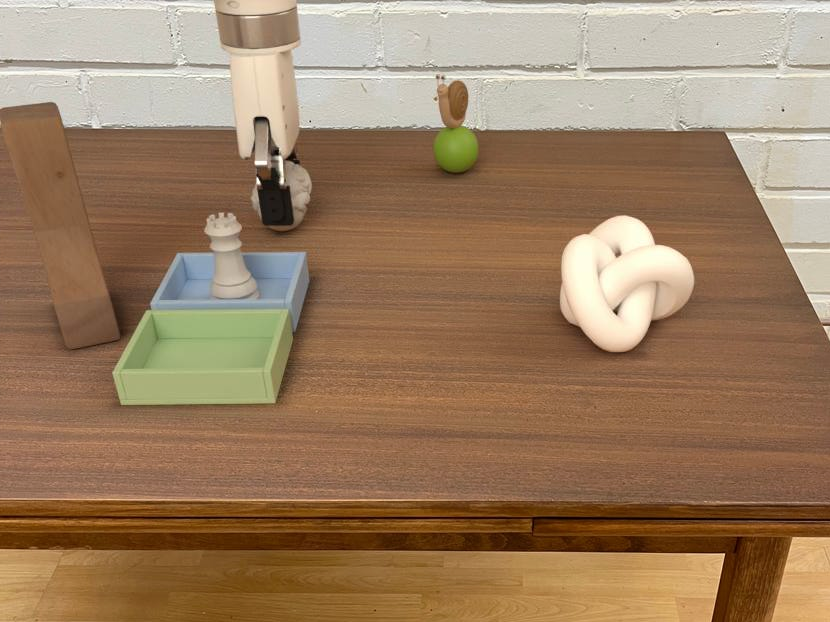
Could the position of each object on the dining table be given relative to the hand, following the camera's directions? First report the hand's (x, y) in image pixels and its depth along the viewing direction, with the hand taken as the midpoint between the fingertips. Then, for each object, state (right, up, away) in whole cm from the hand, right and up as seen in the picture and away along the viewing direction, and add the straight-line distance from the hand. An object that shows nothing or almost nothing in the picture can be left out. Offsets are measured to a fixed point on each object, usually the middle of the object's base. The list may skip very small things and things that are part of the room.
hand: (283, 209), depth 101 cm
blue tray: (-2, -13, -13) cm, 18 cm away
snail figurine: (+18, +8, +14) cm, 24 cm away
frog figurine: (0, -2, +1) cm, 2 cm away
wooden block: (-14, -15, -15) cm, 25 cm away
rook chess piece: (-2, -12, -13) cm, 18 cm away
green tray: (-2, -20, -22) cm, 29 cm away
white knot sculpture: (+32, -15, -16) cm, 39 cm away
